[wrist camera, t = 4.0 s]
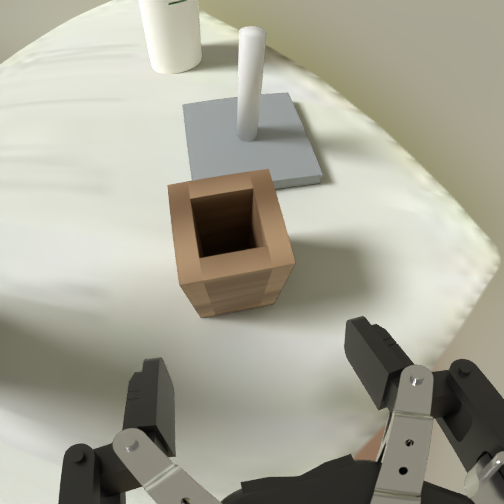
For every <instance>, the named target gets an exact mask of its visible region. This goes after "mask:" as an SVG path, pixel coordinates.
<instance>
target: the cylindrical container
mask: <svg viewBox="0 0 504 504" xmlns="http://www.w3.org/2000/svg"><path fill="white" fill-rule="evenodd" d="M139 3H140V9H141V15H142V20H143V25H144V31H145V36H146V41H147V46H148V51H149V55H150V60H151V65H152V68H153V69H154V70H155V71H156V72H159V73H163V74H176V73H181V72H185V71H187V70H190V69H192V68H194V67H195V66H197V65H198V64H199V63H200V61H201V59H202V51H201V37H200V21H199V4H198V0H139Z"/></svg>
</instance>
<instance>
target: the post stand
mask: <svg viewBox="0 0 504 504" xmlns="http://www.w3.org/2000/svg"><path fill="white" fill-rule="evenodd" d="M266 35H267V32H266V30H265V29H263V28H261V27H256V26H248V27H244V28H241V29H240V30H239V60H238V97H232V98H224V99H216V100H209V101H203V102H196V103H190V104H184V105H183V113H184V122H185V131H186V139H187V147H188V155H189V162H190V170H191V177H192V181H193V180H199V179H204V178H210V177H216V176H222V175H229V174H235V173H242V172H248V171H255V170H263V169H269V171H270V174H271V178H272V181H273V185H274V188H275V189H280V188H287V187H294V186H302V185H310V184H317V183H320V180H321V178H322V175H323V174H322V171H321V169H320V166H319V163H318V161H317V158H316V156H315V153H314V151H313V149H312V146H311V144H310V141H309V139H308V136H307V134H306V132H305V129H304V127H303V125H302V122H301V120H300V118H299V116H298V113H297V111H296V109H295V106H294V104H293V102H292V100H291V98H290V95H289V93H274V94H261V88H262V77H263V67H264V56H265V45H266Z"/></svg>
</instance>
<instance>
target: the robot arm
mask: <svg viewBox="0 0 504 504" xmlns="http://www.w3.org/2000/svg"><path fill="white" fill-rule="evenodd" d="M344 349H345V354H346V357H347V359H348V361H349V362H350V364H351V366H352V367H353V369H354V371H355V372H356V374H357V375H358V377H359V379H360V380H361V382H362V384H363V385H364V387H365V389H366V390H367V392H368V394H369V395H370V397H371V399H372V400H373V402H374V404H375V405H376V407H377V409H378V410H381V409H383V408H386V407H387V408H388V410H389V411H390V412H389V415H388V419H387V423H386V427H385V431H384V435H383V439H382V442H381V446H380V449H379V452H378V456H377V458H376V461H371V460H353V457H352V455H351V454H349V455H347V456H344V457H341V458H338V459H334V460H331V461H328V462H325V463H323V464H321V465H320V466H318V467H316V468H314V469H312V470H310V471H309V472H307V473H305V474H303V475H301V476H295V477H266V478H261V479H256V480H251V481H245V482H241V487H242V489H240V490H237V491H235V492H233V493H232V494H230V495H229V496H227V497H226V498H224V499H223V500H222V501H221V502H220V501H218V500H217V499H216V498H215V497H214V496H212V495H211V494H210V493H209V492H208V491H206V490H205V489H204V488H203V487H202V486H201V485H199V484H198V483H197V482H196V481H195V480H194V479H193V478H192V477H190V476H189V475H188V474H187V473H186V472H185V471H184V470H183V469H182V468H181V467H179V466H178V465H175V464H174V463H173V462H172V461H171V460H170V459H169V458H168V457H176V454H175V414H174V388H173V384H172V381H171V378H170V376H169V374H168V371H167V369H166V366H165V364H164V361H163V359H162V358H161V357H160V358H153V359H145V360H144V362H143V370H142V372H137V373H134V375H133V376H132V378H131V380H130V381H129V386H128V393H127V401H126V407H125V414H124V423H123V430H122V431H121V432H120V433H118V434H117V435H116V437H115V438H114V440H113V443H111V444H108V445H106V446H102V447H99V448H96V449H92V448H91V447H90V446H88V445H86V444H75V445H73V446H71V447H70V448H69V449H68V450H67V451H66V452H65V455H64V459H63V466H62V474H61V483H60V492H59V504H126V496H125V492H126V491H129V490H133V489H136V488H139V487H142V486H143V487H144V489H145V490H146V492H147V493H148V494H149V495H150V496H151V497H152V498H153V499H154V500H155V502H156V503H157V504H504V399H503V398H502V396H501V395H500V394H499V393H498V391H497V390H496V389H495V388H494V386H493V385H492V384H491V383H490V381H489V380H488V379H487V378H486V377H485V375H484V374H483V373H482V372H481V371H480V369H479V368H478V367H477V366H476V365H475V364H474V363H473V362H471V361H469V360H466V359H459V360H456V361H454V362H453V363H452V364H451V366H450V368H449V370H444V371H437V372H431V371H430V370H429V369H428V368H426V367H424V366H421V365H414V363H413V362H412V361H411V360H410V358H409V357H408V356H407V355H406V354H405V352H404V351H403V350H402V349H401V347H400V346H399V345H398V344H396V341H395V340H394V339H393V338H392V337H391V335H390V334H389V333H388V332H387V331H386V329H384V328H382V327H381V326H379V325H377V324H374V325H371V324H370V323H369V322H368V320H367V319H366V318H365V317H364V316H361V317H358V318H354V319H350V320H347V322H346V331H345V344H344ZM434 418H435V419H436V420H437V422H438V424H439V425H440V427H441V428H442V430H443V432H444V433H445V435H446V437H447V438H448V440H449V442H450V444H451V445H452V447H453V449H454V450H455V452H456V454H457V456H458V457H459V459H460V461H461V462H462V464H463V466H464V468H465V469H466V471H467V475H466V477H465V487H466V488H465V491H466V493H467V496H465V495H462V494H460V493H456V492H454V491H450V490H448V489H445V488H442V487H439V486H437V485H434V484H431V483H429V482H426V481H423V480H424V475H425V470H426V465H427V460H428V454H429V447H430V441H431V434H432V426H433V419H434Z"/></svg>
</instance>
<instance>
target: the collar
mask: <svg viewBox="0 0 504 504" xmlns="http://www.w3.org/2000/svg"><path fill="white" fill-rule="evenodd" d="M168 195H169V205H170V215H171V224H172V233H173V241H174V249H175V257H176V265H177V272H178V279H179V285H180V287H181V288H182V290H183V291H184V293H185V294H186V296H187V297H188V299H189V301H190V302H191V304H192V305H193V307H194V308H195V310H196V311H197V313H198V314H199V316H200V317H201V318H203V317H208V316H214V315H219V314H225V313H230V312H235V311H241V310H246V309H251V308H256V307H261V306H266V305H271V304H274V303H275V301H276V299H277V297H278V295H279V294H280V292H281V290H282V288H283V286H284V284H285V282H286V280H287V279H288V277H289V275H290V273H291V271H292V269H293V267H294V265H295V259H294V255H293V252H292V248H291V244H290V241H289V237H288V233H287V230H286V226H285V223H284V219H283V216H282V212H281V209H280V205H279V202H278V198H277V195H276V191H275V188H274V185H273V181H272V178H271V174H270V171H269V169H263V170H255V171H248V172H242V173H235V174H229V175H222V176H216V177H210V178H204V179H199V180H193V181H187V182H182V183H177V184H172V185H168Z"/></svg>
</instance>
